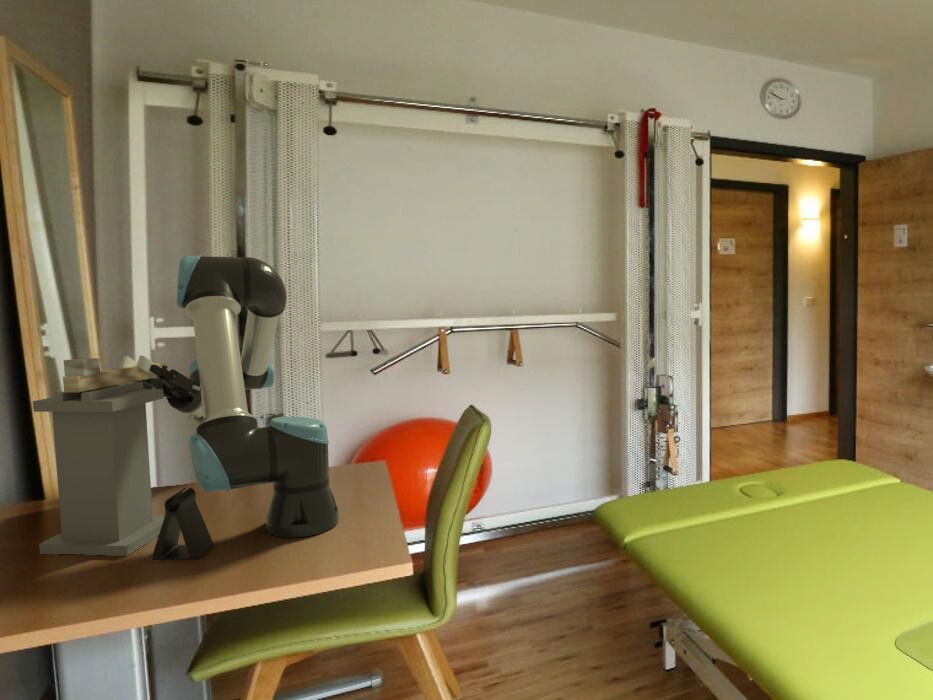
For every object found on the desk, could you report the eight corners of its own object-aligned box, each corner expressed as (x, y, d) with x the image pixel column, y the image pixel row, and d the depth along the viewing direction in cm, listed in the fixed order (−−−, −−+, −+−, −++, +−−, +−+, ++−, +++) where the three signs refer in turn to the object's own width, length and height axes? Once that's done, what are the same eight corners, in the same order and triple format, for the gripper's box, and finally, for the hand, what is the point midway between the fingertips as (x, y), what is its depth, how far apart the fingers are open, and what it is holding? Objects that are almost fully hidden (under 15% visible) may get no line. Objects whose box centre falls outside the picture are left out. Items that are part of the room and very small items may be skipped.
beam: (151, 375, 129) (150, 350, 129) (168, 375, 129) (166, 349, 128) (61, 392, 103) (59, 360, 103) (81, 392, 103) (79, 360, 103)
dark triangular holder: (214, 546, 109) (210, 487, 108) (199, 560, 103) (196, 497, 102) (168, 546, 109) (165, 487, 108) (151, 560, 103) (147, 498, 102)
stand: (98, 523, 121) (88, 382, 119) (175, 525, 120) (167, 382, 117) (40, 554, 106) (27, 393, 104) (127, 556, 105) (116, 393, 102)
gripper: (216, 412, 138) (161, 376, 117) (155, 413, 140) (91, 377, 119) (222, 385, 142) (171, 345, 120) (163, 385, 143) (102, 346, 122)
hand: (131, 361), depth 120 cm, fingers closed on beam, 3 cm apart
